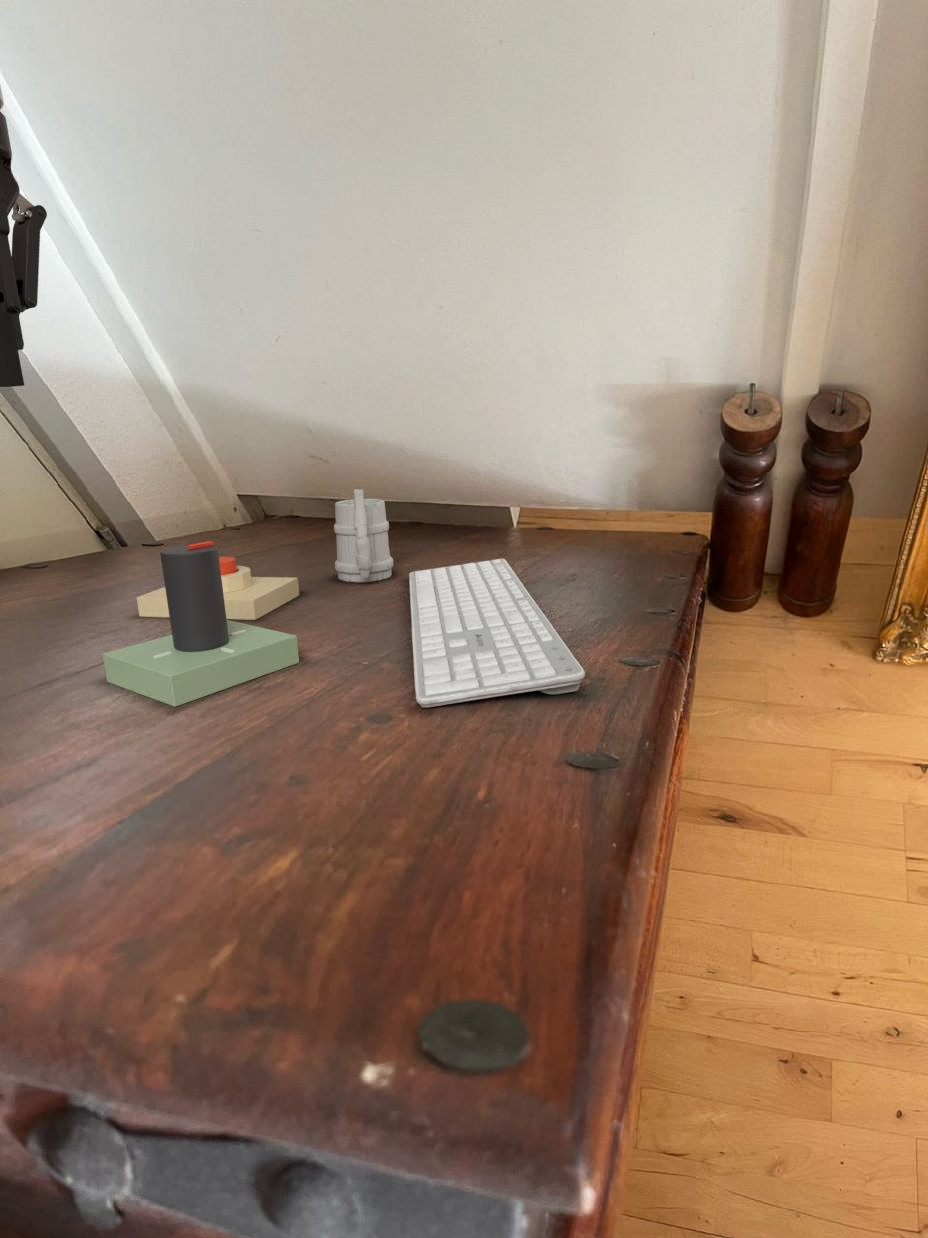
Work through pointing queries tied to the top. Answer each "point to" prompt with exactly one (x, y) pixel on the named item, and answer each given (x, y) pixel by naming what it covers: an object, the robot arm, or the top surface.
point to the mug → (362, 539)
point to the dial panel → (199, 664)
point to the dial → (195, 596)
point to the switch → (227, 565)
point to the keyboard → (483, 637)
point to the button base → (234, 596)
